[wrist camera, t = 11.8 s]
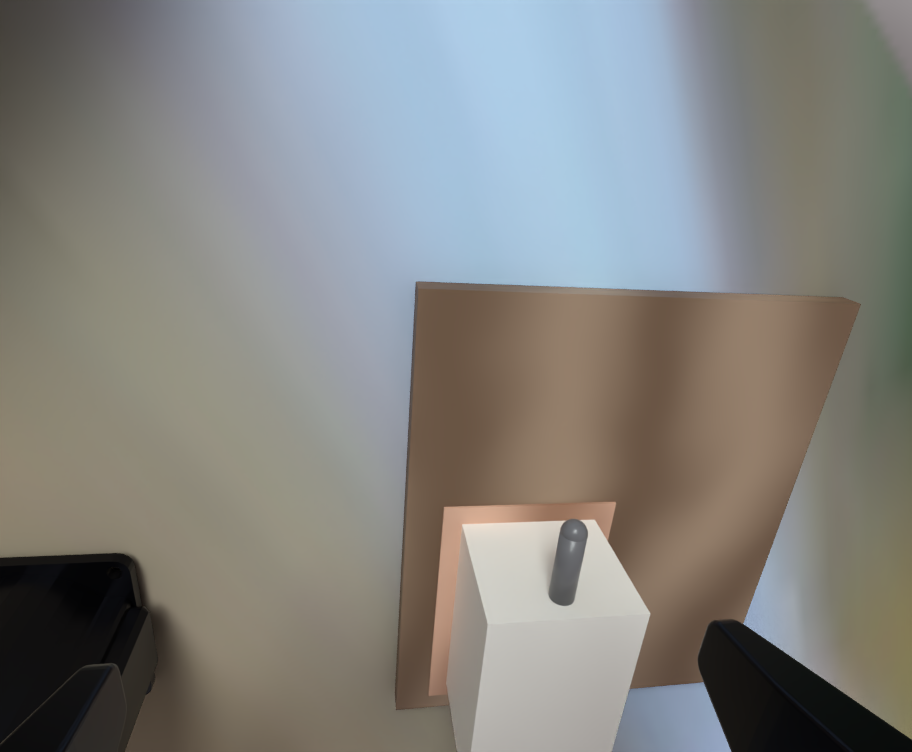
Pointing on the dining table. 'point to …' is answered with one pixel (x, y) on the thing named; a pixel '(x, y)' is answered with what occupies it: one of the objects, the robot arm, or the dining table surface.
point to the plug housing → (541, 638)
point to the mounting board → (609, 445)
